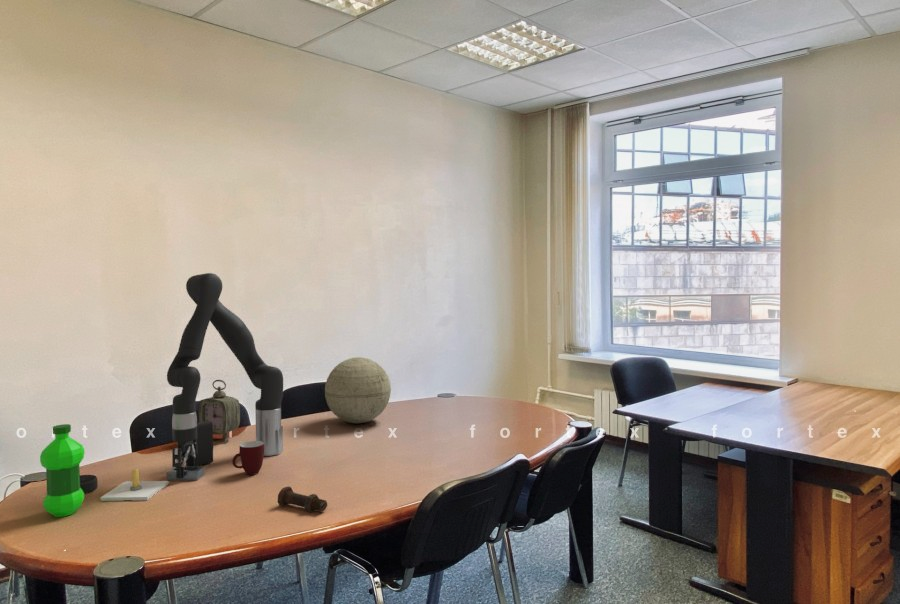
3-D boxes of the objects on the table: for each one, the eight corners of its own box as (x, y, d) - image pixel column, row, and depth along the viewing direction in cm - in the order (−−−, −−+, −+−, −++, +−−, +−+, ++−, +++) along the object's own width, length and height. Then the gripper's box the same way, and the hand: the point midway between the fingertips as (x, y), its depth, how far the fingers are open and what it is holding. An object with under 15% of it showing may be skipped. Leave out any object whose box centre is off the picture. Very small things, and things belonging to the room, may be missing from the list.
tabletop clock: (199, 440, 241) (197, 380, 240) (215, 435, 249) (214, 376, 248) (226, 444, 236) (225, 382, 235) (242, 438, 244) (241, 378, 243)
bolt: (322, 520, 166) (281, 509, 173) (332, 506, 170) (291, 496, 177) (316, 506, 164) (274, 496, 170) (326, 492, 167) (285, 482, 174)
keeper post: (168, 483, 191) (168, 462, 190) (147, 500, 177) (147, 477, 176) (125, 484, 190) (124, 463, 190) (100, 500, 176) (99, 477, 176)
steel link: (204, 474, 200) (204, 465, 200) (197, 480, 194) (197, 471, 194) (174, 474, 199) (174, 466, 199) (167, 480, 194) (166, 471, 194)
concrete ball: (358, 412, 292) (357, 351, 290) (404, 420, 274) (404, 356, 273) (311, 424, 267) (310, 358, 266) (358, 434, 250) (357, 364, 249)
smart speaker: (73, 498, 179) (72, 485, 179) (58, 492, 184) (58, 480, 183) (103, 489, 186) (102, 477, 186) (88, 484, 191) (88, 472, 191)
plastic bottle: (39, 523, 160) (35, 432, 159) (47, 509, 170) (44, 423, 169) (81, 517, 164) (79, 428, 163) (88, 503, 174) (85, 420, 173)
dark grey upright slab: (210, 460, 215) (209, 419, 215) (214, 462, 212) (213, 421, 212) (184, 466, 209) (183, 424, 208) (188, 468, 206) (187, 426, 205)
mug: (239, 480, 194) (238, 450, 193) (228, 474, 199) (228, 445, 199) (269, 473, 201) (268, 444, 200) (258, 467, 207) (257, 439, 206)
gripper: (187, 431, 189) (188, 480, 190) (204, 420, 203) (205, 466, 204) (163, 431, 189) (164, 481, 189) (182, 420, 203) (183, 467, 204)
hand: (185, 473), depth 197 cm, fingers open, 8 cm apart
